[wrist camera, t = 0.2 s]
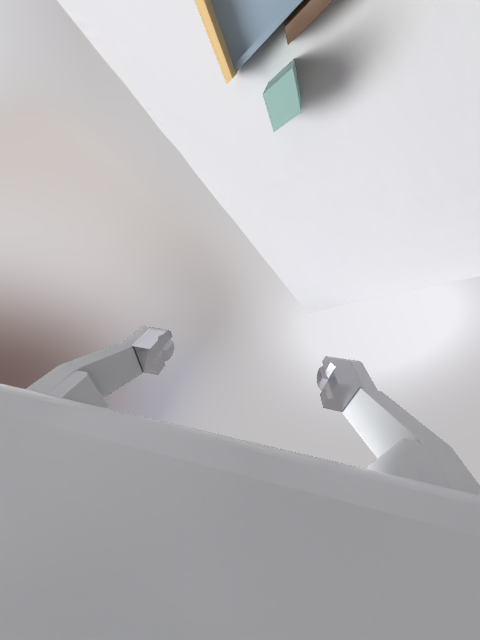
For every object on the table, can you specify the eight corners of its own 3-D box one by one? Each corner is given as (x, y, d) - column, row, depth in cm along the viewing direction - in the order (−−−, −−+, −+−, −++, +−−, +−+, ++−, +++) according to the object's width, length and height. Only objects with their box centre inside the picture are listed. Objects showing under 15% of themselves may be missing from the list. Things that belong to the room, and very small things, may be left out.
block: (268, 82, 33) (262, 94, 29) (294, 58, 31) (292, 67, 26) (277, 116, 37) (273, 132, 32) (301, 97, 34) (301, 111, 29)
